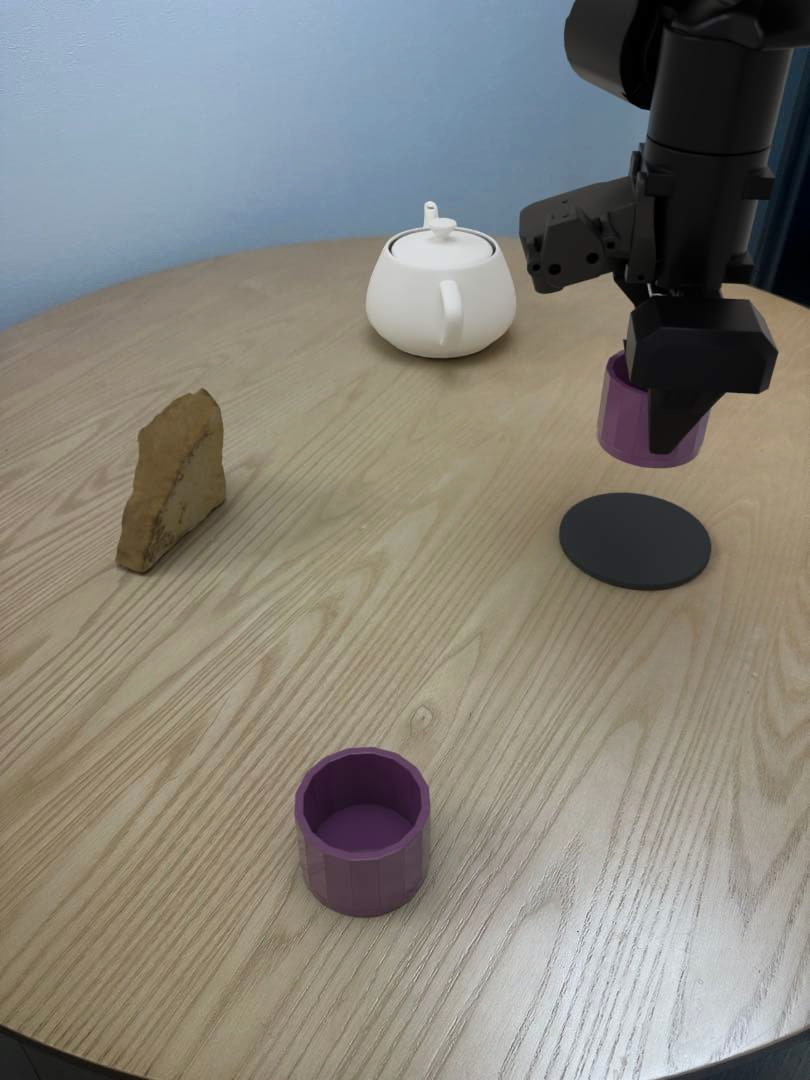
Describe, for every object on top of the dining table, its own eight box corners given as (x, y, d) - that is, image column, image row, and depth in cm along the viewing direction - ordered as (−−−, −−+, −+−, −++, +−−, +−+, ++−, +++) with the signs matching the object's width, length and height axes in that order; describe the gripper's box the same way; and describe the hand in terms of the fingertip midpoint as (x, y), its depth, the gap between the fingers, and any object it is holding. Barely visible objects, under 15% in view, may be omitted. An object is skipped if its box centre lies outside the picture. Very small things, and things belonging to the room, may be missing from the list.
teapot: (532, 387, 80) (543, 264, 73) (371, 393, 79) (367, 270, 73) (494, 281, 97) (500, 175, 90) (362, 286, 96) (358, 179, 90)
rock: (141, 578, 57) (276, 498, 61) (65, 454, 55) (208, 380, 60) (111, 582, 67) (229, 512, 71) (45, 476, 65) (170, 411, 69)
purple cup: (719, 437, 55) (736, 368, 52) (668, 481, 52) (684, 410, 49) (630, 402, 58) (641, 335, 55) (576, 442, 55) (585, 373, 52)
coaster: (736, 537, 64) (738, 531, 64) (662, 612, 58) (663, 606, 58) (609, 481, 69) (610, 475, 69) (529, 545, 63) (530, 539, 63)
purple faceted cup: (454, 853, 45) (457, 795, 42) (368, 943, 41) (365, 887, 39) (363, 784, 48) (360, 726, 45) (275, 863, 44) (266, 805, 42)
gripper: (536, 83, 52) (515, 339, 62) (535, 199, 38) (508, 510, 48) (741, 88, 51) (687, 348, 61) (822, 210, 37) (734, 524, 47)
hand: (653, 421), depth 54 cm, fingers closed on purple cup, 6 cm apart
